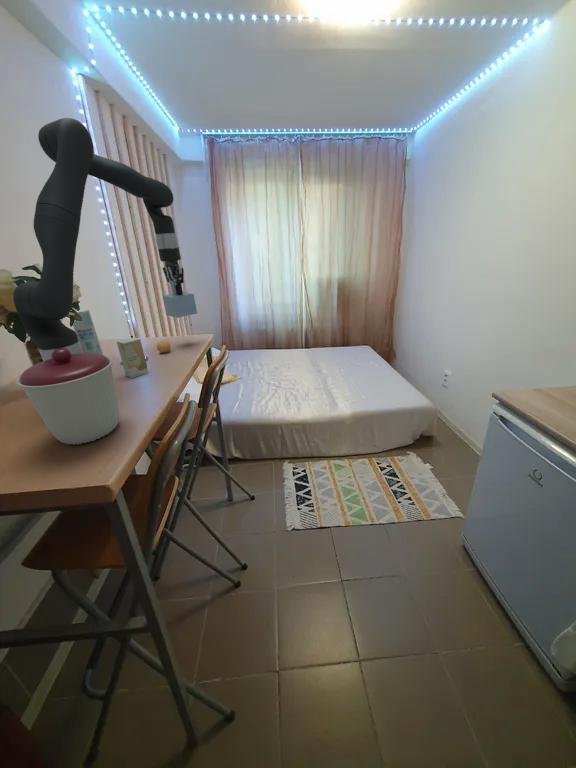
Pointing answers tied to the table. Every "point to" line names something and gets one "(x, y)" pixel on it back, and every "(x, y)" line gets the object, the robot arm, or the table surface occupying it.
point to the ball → (163, 346)
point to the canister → (73, 395)
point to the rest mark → (145, 359)
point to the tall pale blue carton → (87, 333)
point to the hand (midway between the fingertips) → (177, 294)
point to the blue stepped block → (179, 303)
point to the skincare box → (132, 357)
